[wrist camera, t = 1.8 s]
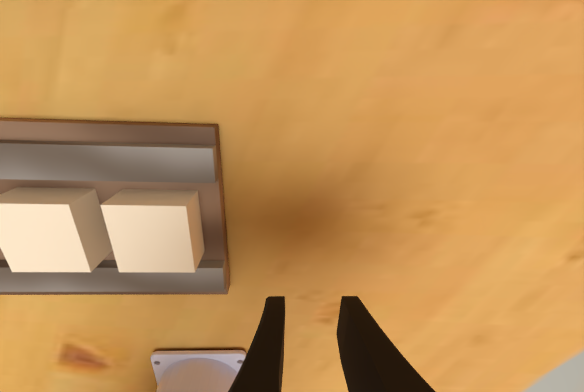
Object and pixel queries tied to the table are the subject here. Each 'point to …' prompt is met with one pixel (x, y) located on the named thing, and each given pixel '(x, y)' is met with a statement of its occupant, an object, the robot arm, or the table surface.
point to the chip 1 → (52, 230)
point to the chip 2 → (155, 230)
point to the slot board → (109, 181)
